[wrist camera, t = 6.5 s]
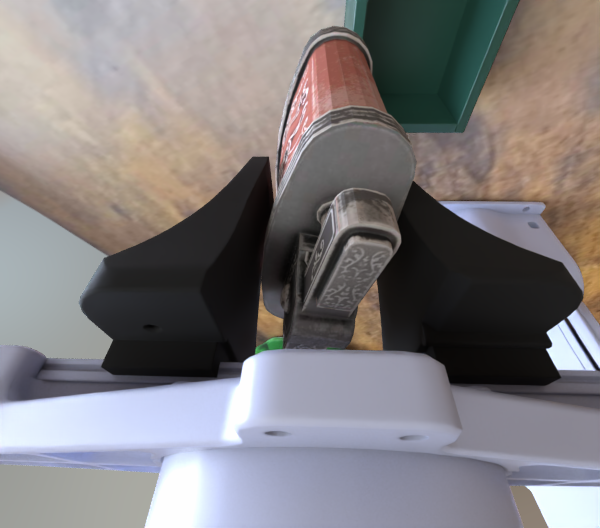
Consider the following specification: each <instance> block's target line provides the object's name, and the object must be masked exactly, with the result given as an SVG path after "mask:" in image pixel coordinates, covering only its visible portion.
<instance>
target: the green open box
mask: <svg viewBox="0 0 600 528" xmlns="http://www.w3.org/2000/svg"><path fill="white" fill-rule="evenodd" d="M519 1H520V0H346V11H345V23H344V27H346V28H348V29H350V30H352V31H354V32H356V33H357V34H358V35H359V36H360V37H361V39H362V40H363V41H364V42H365V44H366V46H367V48H368V51H369V54H370V56H371V59H372V76H373V79H374V81H375V84H376V86H377V89H378V91H379V94H380V96H381V99H382V101H383V104H384V106H385V109H386V111H387V114H389V115H391V116H392V117H393V118H394V119H395V120H396V121H397V122H398V123H399V124H400V125H401V126H402V127H403V129H404V131H405V133H453V132H455V133H463V132H464V130H465V128H466V125H467V123H468V121H469V118H470V116H471V114H472V111H473V109H474V106H475V104H476V102H477V99H478V97H479V95H480V92H481V90H482V88H483V85H484V83H485V81H486V78H487V76H488V74H489V71H490V69H491V66H492V64H493V62H494V59H495V57H496V55H497V52H498V50H499V48H500V45H501V43H502V41H503V38H504V36H505V34H506V31H507V29H508V26H509V24H510V22H511V19H512V17H513V15H514V12H515V10H516V8H517V5H518V3H519Z"/></svg>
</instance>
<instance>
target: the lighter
mask: <svg viewBox="0 0 600 528" xmlns="http://www.w3.org/2000/svg"><path fill="white" fill-rule="evenodd" d="M415 168H416V159H415V156H414V153H413V150H412V147H411V144H410V142H409V140H408V137H407V135H406V133H405V131H404V129H403V127H402V126H401V125H400V124H399V123H398V122H397V121H396V120H395V119H394V118H393V117H392V116H391V115H389V114H387V111H386V109H385V106H384V104H383V101H382V99H381V96H380V94H379V91H378V89H377V86H376V84H375V81H374V79H373V76H372V59H371V56H370V54H369V51H368V48H367V46H366V44H365V42H364V41H363V40H362V39H361V37H360V36H359V35H358V34H357V33H356V32H354V31H352V30H350V29H348V28H346V27H338V26H331V27H328V28H325V29H321V30H320V31H318V32H317V33H316V34H315V35H313V36H312V37H311V38H310V40H309V41H308V43H307V45H306V46H305V48H304V50H303V53H302V56H301V59H300V61H299V64H298V67H297V69H296V72H295V75H294V77H293V80H292V83H291V85H290V88H289V91H288V96H287V100H286V104H285V108H284V112H283V116H282V120H281V124H280V129H279V137H278V147H277V157H276V167H275V173H276V198H275V202H274V205H273V208H272V212H271V215H270V219H269V222H268V226H267V229H266V236H265V243H264V253H263V265H262V277H261V283H262V291H263V300H264V306H265V308H266V310H267V311H269V312H270V313H271V314H273V315H274V316H277V317H279V318H282V319H284V320H283V349H325V350H326V349H327V347H330V348H339V349H345V348H346V347H347V346H348V345H349V343H350V342H351V340H352V337H353V334H354V328H355V318H356V315H357V309H358V304H359V303H360V302H361V300H362V299H363V297H364V296H365V295H366V293H367V292H368V290H369V289H370V288H371V286H372V285H373V283H374V282H375V281H376V279H377V278H378V277H379V275H380V274H381V272H382V271H383V270H384V268H385V267H386V265H387V264H388V263H389V261H390V260H391V259H392V257H393V256H394V254H395V253H396V252H397V250H398V248H399V246H400V244H401V235H400V231H399V228H398V224H397V221H398V218H399V215H400V213H401V210H402V208H403V205H404V202H405V200H406V197H407V195H408V192H409V189H410V187H411V184H412V182H413V179H414V176H415Z"/></svg>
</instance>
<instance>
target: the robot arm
mask: <svg viewBox="0 0 600 528" xmlns="http://www.w3.org/2000/svg"><path fill="white" fill-rule="evenodd" d="M273 205H274V198H273V189H272V180H271V171H270V162H269V157H252V158H251V159H250V160H249V161H248V162H247V164H246V165H245V166H244V167H243V168H242V169H241V170H240V172H239V173H238V174H237V175H236V176H235V177H234V178H233V179H232V180H231V181H230V183H229V184H228V185H227V186H226V187H225V188H224V189H222V190H221V191H220V192H219V193H218V194H217V195H216V196H215V197H214V198H213V199H212V200H211V201H209V202H208V203H207V204H206V205H204V206H203V207H202V208H200V209H199V210H198V211H196V212H195V213H194V214H192V215H191V216H189V217H188V218H186V219H185V220H183V221H181V222H180V223H178V224H176V225H175V226H173V227H172V228H170V229H168V230H166V231H164V232H163V233H161V234H159V235H157V236H155V237H153V238H151V239H149V240H147V241H145V242H142V243H140V244H138V245H136V246H133V247H131V248H128V249H126V250H123V251H121V252H119V253H116V254H114V255H111V256H108V257H106V258H104V259H103V261H102V262H101V264H100V265H99V267H98V269H97V270H96V272H95V274H94V275H93V277H92V278H91V280H90V282H89V283H88V285H87V287H86V288H85V290H84V292H83V293H82V295H81V297H80V301H79V304H80V307H81V310H82V311H83V313H84V314H85V315H86V316H87V317H88V318H89V319H90V320H91V321H92V322H93V323H94V324H95V325H97V326H98V327H99V328H100V329H101V330H102V331H104V332H105V333H106V334H107V335H108V336H109V337H111V338H112V339H113V342H112V344H111V346H110V348H109V350H108V352H107V354H106V357H105V359H62V358H46V357H45V355H43V354H42V353H40V352H38V351H37V350H34V349H32V348H29V347H25V346H18V345H0V464H6V465H32V466H51V467H69V468H87V469H103V470H120V471H136V472H152V473H160V474H159V478H158V481H157V485H156V489H155V492H154V496H153V499H152V503H151V507H150V511H149V514H148V518H147V521H146V525H145V528H523V525H522V522H521V519H520V516H519V513H518V510H517V507H516V505H515V502H514V499H513V496H512V493H511V490H510V487H509V486H526V487H527V488H528V489H529V490H531V492H532V493H533V495H534V498H535V499H536V502H537V504H538V506H539V508H540V510H541V512H542V514H543V517H544V519H545V521H546V523H547V525H548V527H549V528H600V325H599V324H598V322H597V321H596V319H595V318H594V316H593V315H592V314H591V312H590V311H589V309H588V308H587V307H586V305H585V304H584V303H583V302H582V300H583V295H584V283H583V278H582V274H581V271H580V269H579V267H578V265H577V264H576V262H575V261H574V260H573V258H572V257H571V256H570V254H569V253H568V252H567V250H566V249H565V248H564V246H563V245H562V244H561V242H560V241H559V240H558V238H557V237H556V236H555V234H554V233H553V232H552V230H551V229H550V228H549V226H548V225H547V224H546V222H545V221H544V220H543V218H542V217H541V216H540V214H541V213H542V211H543V210H544V209H545V205H544V203H543V202H501V201H436V200H435V199H434V198H433V197H431V196H430V195H429V194H428V193H426V192H425V191H424V190H423V189H422V188H421V187H420V186H418V185H417V184H416V183H415V182H414V181H413V182H412V184H411V187H410V189H409V192H408V195H407V197H406V200H405V202H404V205H403V208H402V210H401V213H400V215H399V218H398V221H397V224H398V228H399V231H400V235H401V244H400V246H399V248H398V250H397V252H396V253H395V254H394V256H393V257H392V259H391V260H390V261H389V263H388V264H387V265H386V267H385V268H384V270H383V271H382V272H381V274H380V275H379V277H378V278H377V284H378V293H379V303H380V315H381V327H382V341H383V351H372V350H325V349H278V350H267V351H262V352H260V353H258V354H256V355H255V350H256V334H257V320H258V308H259V296H260V286H261V276H262V265H263V253H264V243H265V236H266V229H267V226H268V222H269V219H270V215H271V212H272V208H273ZM525 207H526V208H525Z"/></svg>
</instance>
